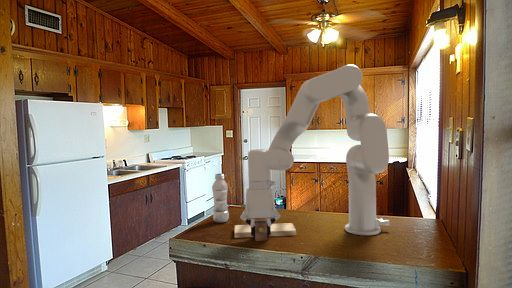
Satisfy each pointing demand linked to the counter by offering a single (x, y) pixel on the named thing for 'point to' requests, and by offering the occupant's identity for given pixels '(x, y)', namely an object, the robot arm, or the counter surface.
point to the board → (276, 230)
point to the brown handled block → (260, 230)
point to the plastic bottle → (220, 199)
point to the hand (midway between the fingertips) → (260, 236)
